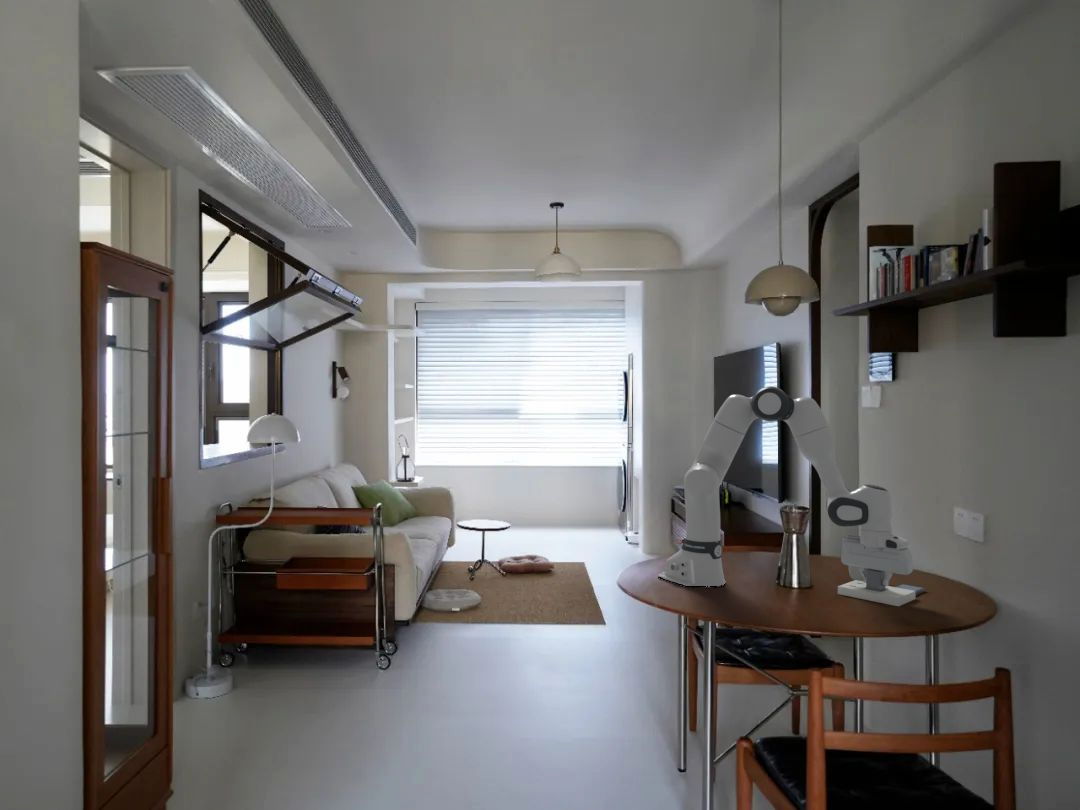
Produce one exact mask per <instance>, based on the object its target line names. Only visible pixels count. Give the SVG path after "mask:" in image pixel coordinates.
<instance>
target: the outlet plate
mask: <svg viewBox="0 0 1080 810" xmlns="http://www.w3.org/2000/svg"><path fill="white" fill-rule="evenodd" d="M837 595H840V596H846V597H851V598H856V599H861V600H865V601H870V602H875V603H881V604H885V605H890V606H895V607H900V606H903V605H905V604H907V603H909V602H912V601H914V600H916V596H915V591H913V590H907V589H902V588H896V586H890V585H888V586H887V587H885V591H883V592H879V591H874V590H869V589H866V583H864V582H863V581H858V580H851V581H848V582H847V583H843V584H841V585H837Z"/></svg>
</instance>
